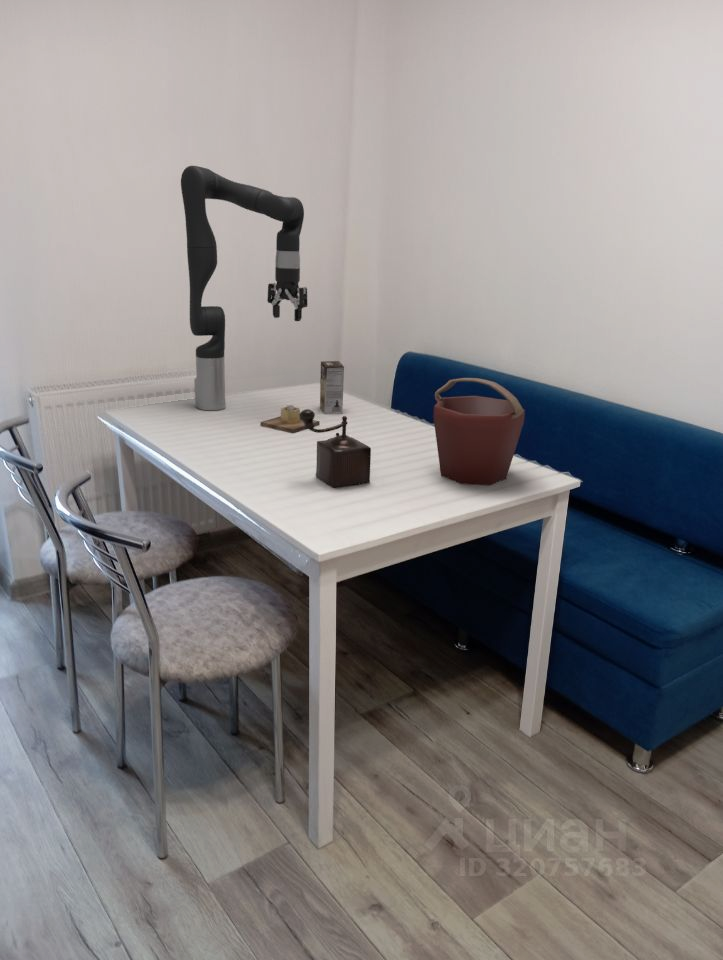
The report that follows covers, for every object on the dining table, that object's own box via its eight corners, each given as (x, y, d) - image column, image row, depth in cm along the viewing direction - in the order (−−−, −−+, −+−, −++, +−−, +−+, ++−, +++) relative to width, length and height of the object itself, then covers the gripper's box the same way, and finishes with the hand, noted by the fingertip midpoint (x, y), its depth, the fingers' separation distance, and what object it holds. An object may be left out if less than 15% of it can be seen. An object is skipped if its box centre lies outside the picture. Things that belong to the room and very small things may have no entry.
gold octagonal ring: (277, 421, 249) (277, 409, 247) (289, 418, 253) (289, 405, 252) (291, 424, 246) (291, 412, 244) (303, 421, 250) (303, 408, 249)
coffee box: (319, 407, 273) (320, 360, 268) (337, 407, 274) (338, 360, 269) (324, 414, 265) (325, 366, 259) (343, 413, 266) (344, 365, 261)
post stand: (260, 425, 248) (260, 406, 246) (287, 417, 258) (287, 399, 256) (293, 433, 241) (293, 413, 239) (319, 424, 251) (319, 405, 249)
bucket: (411, 468, 212) (416, 375, 204) (472, 456, 225) (479, 368, 217) (475, 495, 194) (484, 394, 186) (538, 480, 206) (548, 385, 198)
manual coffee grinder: (349, 470, 209) (351, 403, 203) (370, 483, 200) (373, 413, 194) (295, 478, 201) (296, 408, 196) (315, 491, 192) (316, 419, 187)
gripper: (262, 264, 246) (261, 317, 252) (297, 268, 239) (296, 323, 244) (278, 263, 252) (277, 315, 258) (313, 267, 245) (312, 321, 250)
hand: (287, 319), depth 251 cm, fingers open, 8 cm apart
